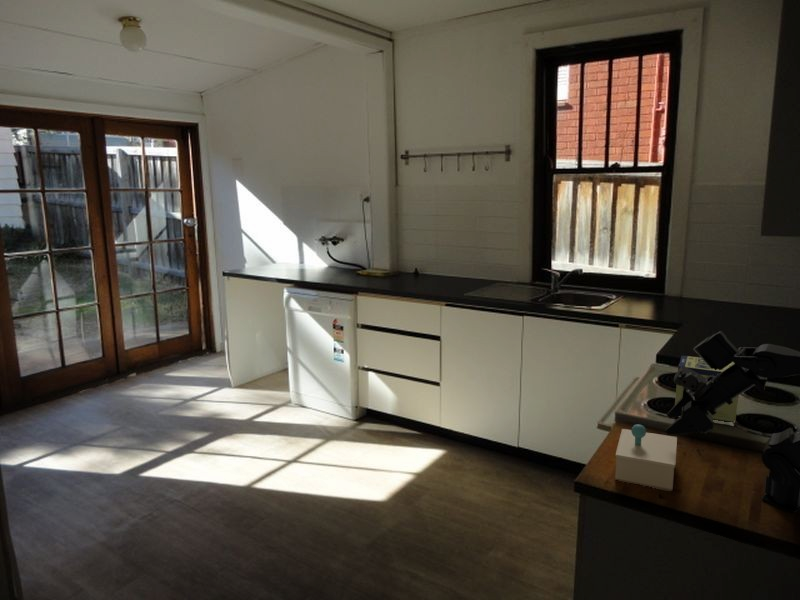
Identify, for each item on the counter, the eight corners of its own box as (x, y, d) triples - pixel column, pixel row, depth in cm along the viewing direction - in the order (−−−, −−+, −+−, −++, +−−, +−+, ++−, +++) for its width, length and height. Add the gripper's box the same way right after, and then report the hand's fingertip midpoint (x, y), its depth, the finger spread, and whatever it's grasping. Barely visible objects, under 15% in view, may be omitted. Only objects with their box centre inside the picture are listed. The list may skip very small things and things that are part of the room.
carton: (674, 462, 142) (675, 440, 140) (672, 491, 130) (674, 467, 128) (621, 453, 147) (622, 431, 146) (615, 480, 135) (616, 457, 133)
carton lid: (676, 439, 140) (678, 418, 139) (675, 467, 128) (676, 444, 127) (622, 430, 146) (623, 410, 145) (615, 456, 133) (616, 434, 132)
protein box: (736, 427, 159) (741, 373, 155) (673, 417, 166) (677, 365, 163) (735, 413, 168) (741, 361, 164) (676, 404, 175) (680, 354, 172)
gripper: (699, 345, 136) (645, 383, 143) (700, 371, 119) (638, 413, 127) (734, 381, 134) (678, 418, 141) (740, 413, 118) (675, 453, 125)
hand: (667, 424), depth 134 cm, fingers open, 9 cm apart
